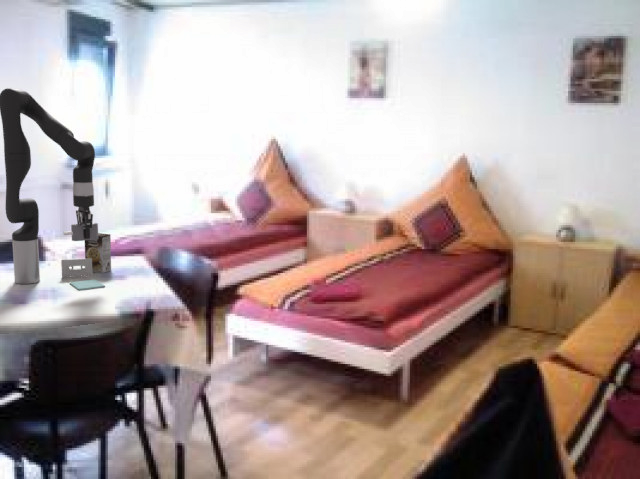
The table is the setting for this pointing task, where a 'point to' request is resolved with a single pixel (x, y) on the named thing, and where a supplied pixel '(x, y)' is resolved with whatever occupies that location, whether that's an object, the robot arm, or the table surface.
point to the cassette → (76, 272)
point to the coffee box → (99, 253)
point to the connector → (82, 232)
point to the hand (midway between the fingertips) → (85, 237)
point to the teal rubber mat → (87, 284)
